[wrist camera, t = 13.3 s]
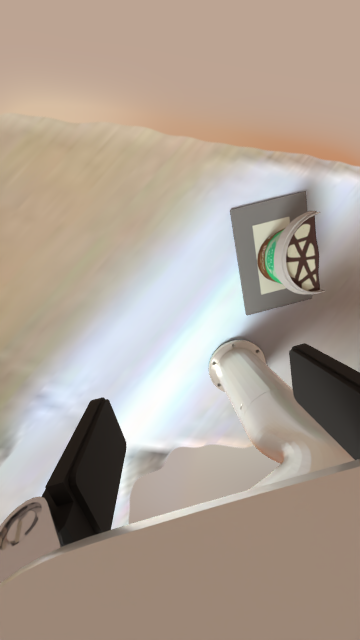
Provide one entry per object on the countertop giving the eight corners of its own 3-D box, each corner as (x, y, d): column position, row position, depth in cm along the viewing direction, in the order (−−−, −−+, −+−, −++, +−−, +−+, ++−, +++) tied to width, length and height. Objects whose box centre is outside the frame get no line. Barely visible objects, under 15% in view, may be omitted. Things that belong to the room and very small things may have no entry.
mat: (310, 297, 42) (312, 298, 41) (246, 314, 41) (247, 315, 41) (304, 191, 36) (306, 190, 36) (229, 210, 36) (230, 209, 35)
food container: (246, 231, 36) (276, 219, 27) (278, 222, 37) (319, 207, 27) (256, 296, 40) (286, 306, 30) (285, 288, 40) (325, 294, 30)
